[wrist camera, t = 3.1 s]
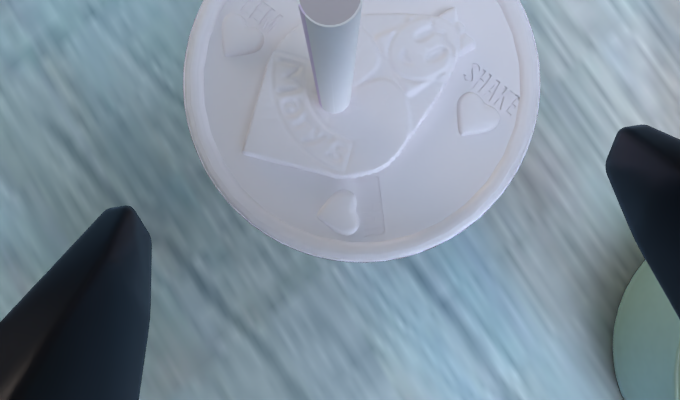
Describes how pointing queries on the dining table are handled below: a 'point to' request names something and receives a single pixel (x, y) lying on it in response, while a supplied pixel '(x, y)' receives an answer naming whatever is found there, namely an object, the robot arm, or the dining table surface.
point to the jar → (646, 341)
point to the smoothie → (361, 117)
